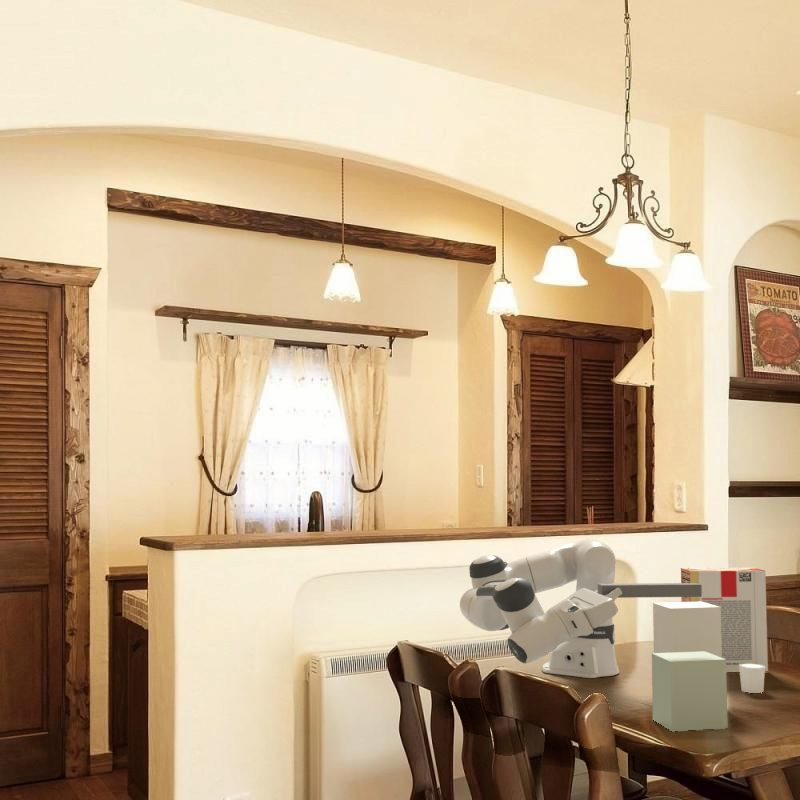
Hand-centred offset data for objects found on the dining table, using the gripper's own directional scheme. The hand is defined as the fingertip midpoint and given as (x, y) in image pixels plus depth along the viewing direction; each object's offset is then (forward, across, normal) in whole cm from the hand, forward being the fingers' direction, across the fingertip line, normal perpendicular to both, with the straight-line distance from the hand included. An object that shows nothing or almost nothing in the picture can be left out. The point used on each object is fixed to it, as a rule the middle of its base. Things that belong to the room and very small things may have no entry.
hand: (616, 588), depth 236 cm
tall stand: (+6, -12, -39) cm, 41 cm away
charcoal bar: (+7, 0, -6) cm, 9 cm away
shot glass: (+25, -20, -50) cm, 60 cm away
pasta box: (+30, -46, -54) cm, 77 cm away
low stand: (-3, +9, -34) cm, 35 cm away
